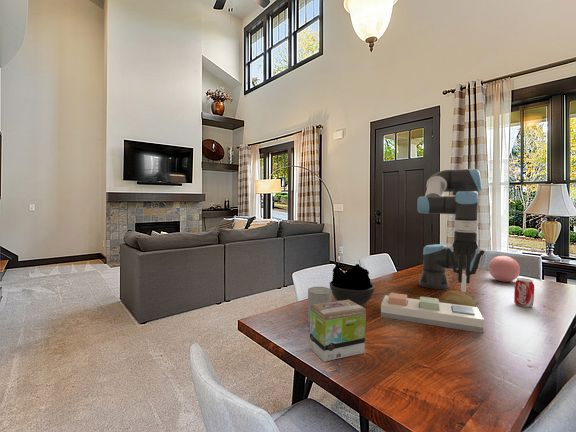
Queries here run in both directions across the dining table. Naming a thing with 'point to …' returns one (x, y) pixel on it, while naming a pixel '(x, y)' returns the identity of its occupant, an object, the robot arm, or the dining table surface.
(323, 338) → the tea box
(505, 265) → the balloon
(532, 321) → the dining table surface
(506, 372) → the dining table surface
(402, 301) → the button terracotta
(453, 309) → the button blue
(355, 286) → the coal bowl
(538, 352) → the dining table surface
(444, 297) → the bread roll
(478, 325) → the console
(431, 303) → the button sage
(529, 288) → the soda can
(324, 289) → the gray cylinder
